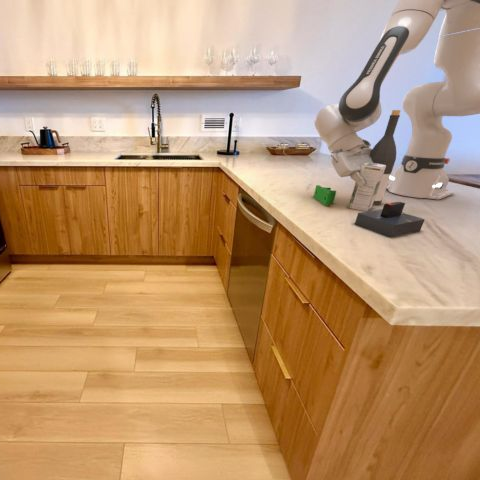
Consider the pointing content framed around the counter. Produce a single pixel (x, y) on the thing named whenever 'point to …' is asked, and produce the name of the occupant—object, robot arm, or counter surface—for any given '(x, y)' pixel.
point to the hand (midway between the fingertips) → (369, 183)
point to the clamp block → (389, 223)
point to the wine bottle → (385, 154)
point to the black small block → (392, 209)
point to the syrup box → (367, 186)
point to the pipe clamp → (324, 195)
